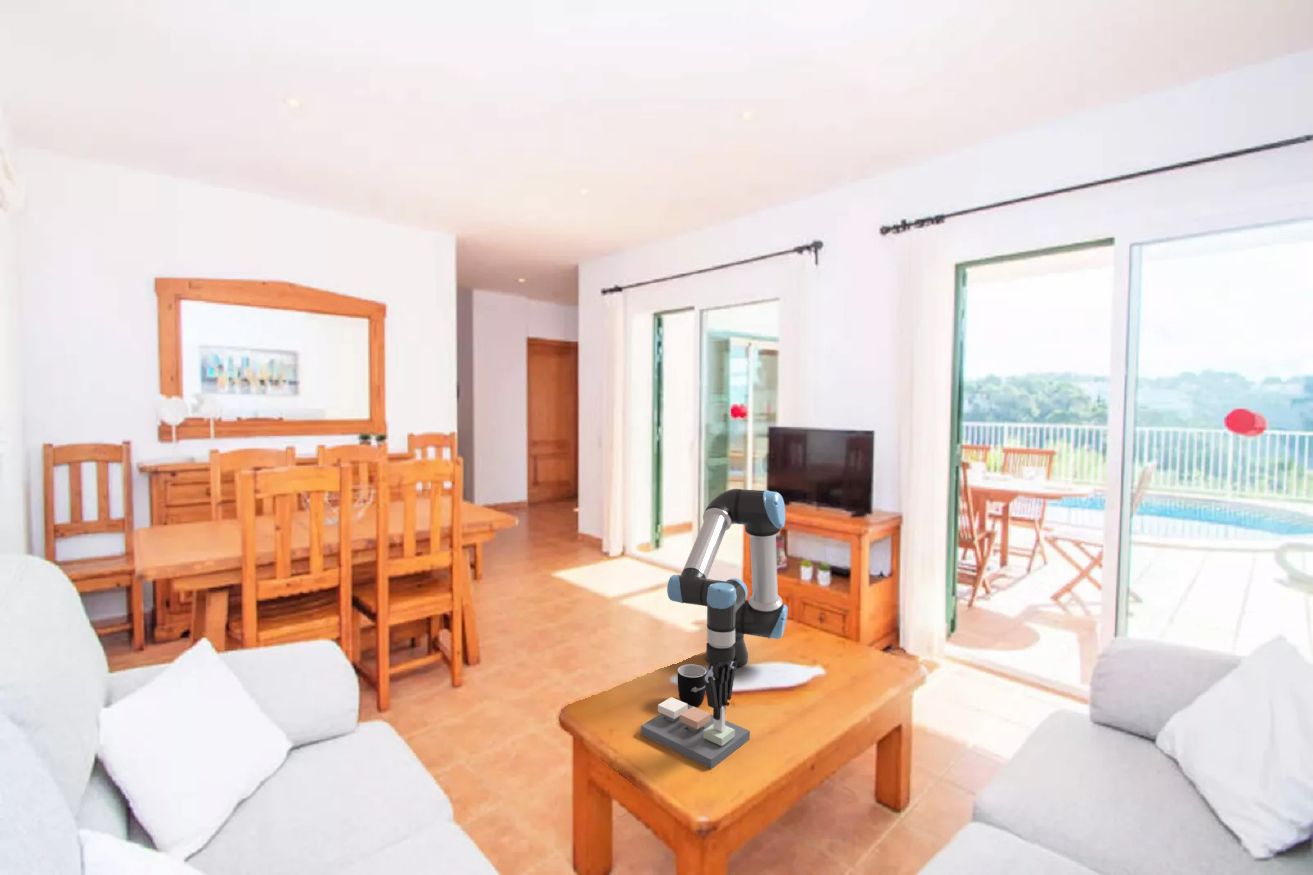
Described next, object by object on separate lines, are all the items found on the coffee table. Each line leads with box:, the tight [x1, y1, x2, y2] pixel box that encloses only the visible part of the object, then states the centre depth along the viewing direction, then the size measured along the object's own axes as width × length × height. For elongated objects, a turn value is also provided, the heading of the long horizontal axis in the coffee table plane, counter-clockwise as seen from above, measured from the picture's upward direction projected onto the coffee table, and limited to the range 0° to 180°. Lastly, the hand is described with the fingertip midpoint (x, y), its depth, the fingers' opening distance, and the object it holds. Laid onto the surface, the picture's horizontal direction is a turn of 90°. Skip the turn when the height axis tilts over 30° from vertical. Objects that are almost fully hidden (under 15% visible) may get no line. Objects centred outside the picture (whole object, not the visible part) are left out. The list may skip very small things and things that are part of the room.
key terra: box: [680, 706, 711, 734], centre depth 168 cm, size 6×6×4 cm
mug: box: [676, 663, 709, 708], centre depth 188 cm, size 12×9×10 cm
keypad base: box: [640, 705, 751, 770], centre depth 169 cm, size 18×24×2 cm
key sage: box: [703, 724, 735, 746], centre depth 163 cm, size 6×6×4 cm
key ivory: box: [657, 696, 688, 723], centre depth 174 cm, size 6×6×4 cm
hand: (719, 729), depth 163 cm, fingers closed
